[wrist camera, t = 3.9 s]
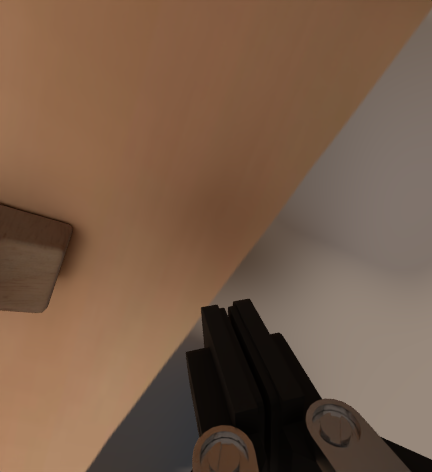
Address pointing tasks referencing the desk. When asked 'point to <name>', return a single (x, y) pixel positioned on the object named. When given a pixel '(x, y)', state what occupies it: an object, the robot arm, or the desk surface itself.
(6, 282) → the wooden block
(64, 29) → the desk surface
